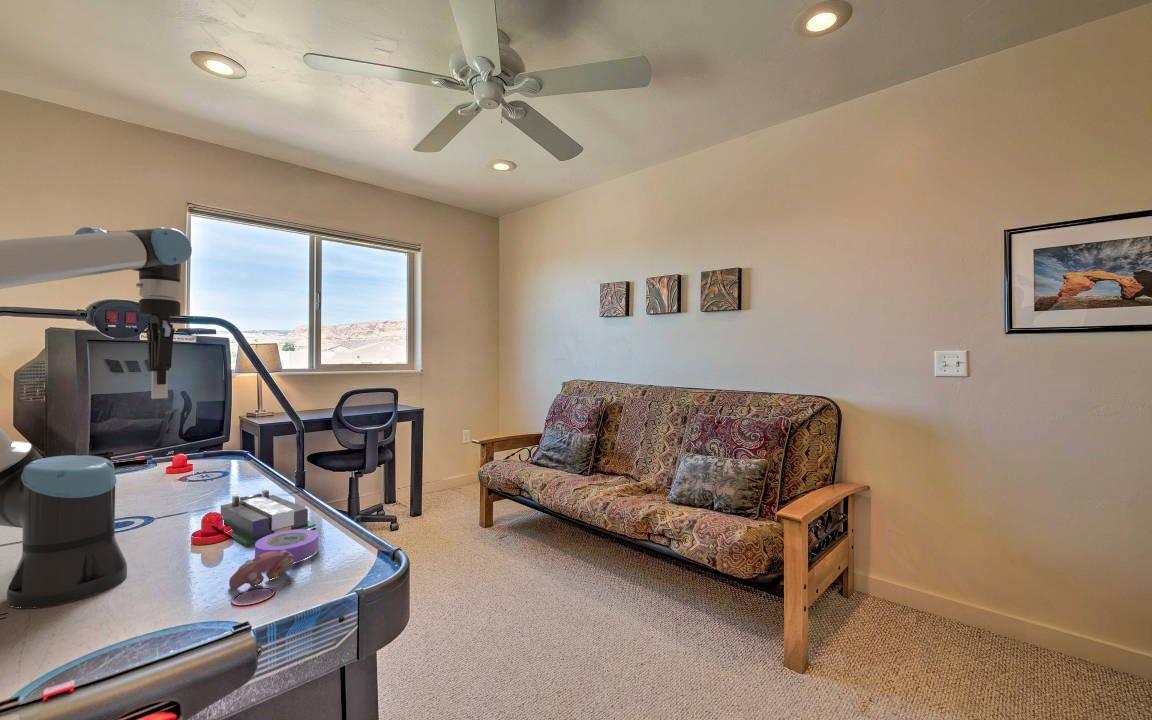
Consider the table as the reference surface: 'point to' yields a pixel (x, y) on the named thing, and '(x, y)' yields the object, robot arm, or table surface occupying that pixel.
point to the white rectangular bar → (270, 510)
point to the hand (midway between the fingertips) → (159, 398)
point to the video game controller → (262, 568)
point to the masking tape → (289, 543)
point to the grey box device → (259, 519)
